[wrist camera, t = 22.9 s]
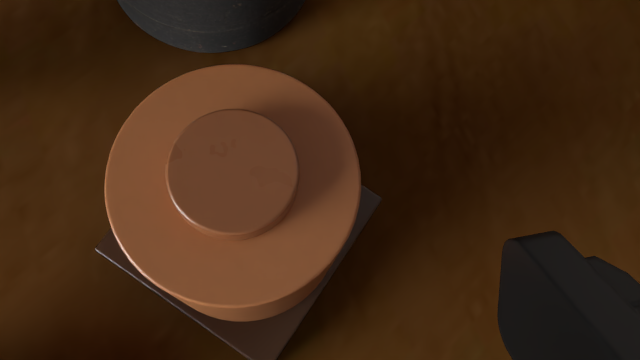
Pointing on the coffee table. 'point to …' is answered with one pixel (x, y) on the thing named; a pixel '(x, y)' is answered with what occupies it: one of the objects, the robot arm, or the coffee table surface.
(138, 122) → the shaker lid
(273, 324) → the walnut coaster
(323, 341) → the coffee table surface
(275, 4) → the container
